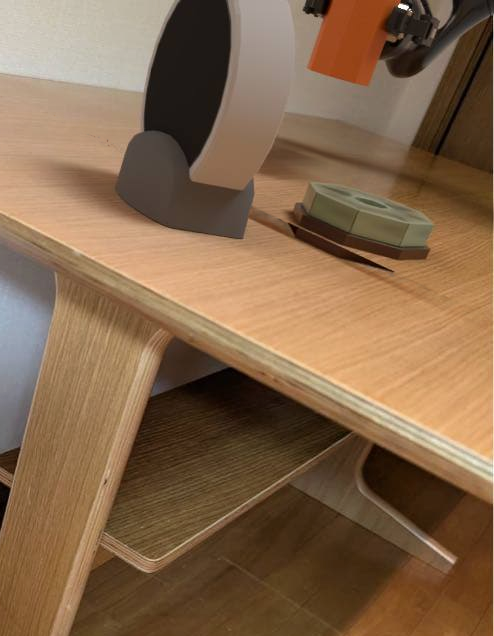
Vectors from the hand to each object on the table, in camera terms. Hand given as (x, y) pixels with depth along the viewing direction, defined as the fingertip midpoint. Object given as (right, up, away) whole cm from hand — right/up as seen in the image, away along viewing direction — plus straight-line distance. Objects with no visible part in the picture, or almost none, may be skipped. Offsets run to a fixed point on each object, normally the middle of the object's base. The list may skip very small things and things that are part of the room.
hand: (356, 9), depth 81 cm
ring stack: (-2, -26, -5) cm, 26 cm away
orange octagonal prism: (0, -4, +5) cm, 6 cm away
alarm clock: (-19, -24, -10) cm, 32 cm away
